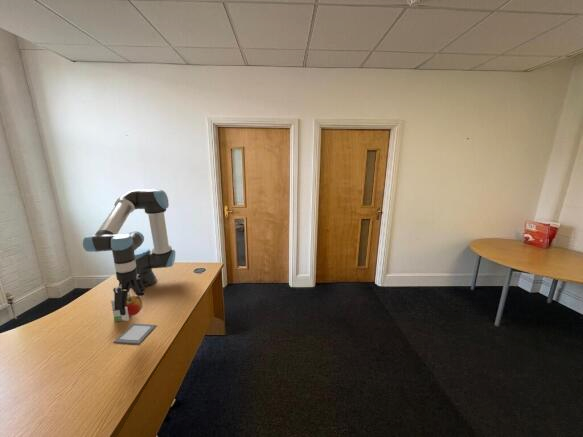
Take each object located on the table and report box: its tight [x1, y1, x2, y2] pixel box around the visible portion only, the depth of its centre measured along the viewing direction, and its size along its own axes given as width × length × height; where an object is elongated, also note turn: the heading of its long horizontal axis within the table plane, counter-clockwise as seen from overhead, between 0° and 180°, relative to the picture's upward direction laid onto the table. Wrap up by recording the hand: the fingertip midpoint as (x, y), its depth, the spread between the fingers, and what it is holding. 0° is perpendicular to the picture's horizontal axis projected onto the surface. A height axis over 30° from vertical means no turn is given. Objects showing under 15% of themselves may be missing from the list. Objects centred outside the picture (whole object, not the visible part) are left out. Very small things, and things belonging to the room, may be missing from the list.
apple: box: [126, 295, 143, 317], centre depth 103 cm, size 8×8×10 cm
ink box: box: [110, 291, 132, 322], centre depth 118 cm, size 9×5×12 cm, turn 9°
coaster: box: [113, 323, 157, 345], centre depth 107 cm, size 12×12×1 cm
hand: (133, 313), depth 104 cm, fingers closed on apple, 8 cm apart
